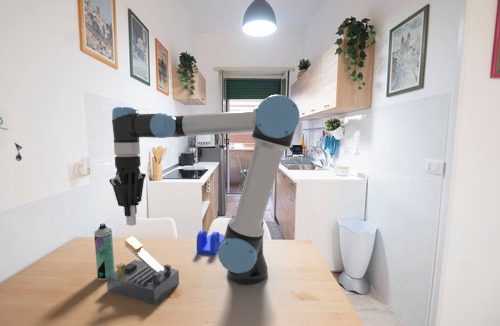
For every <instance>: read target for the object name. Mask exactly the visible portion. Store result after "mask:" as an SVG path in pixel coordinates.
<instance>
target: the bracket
mask: <svg viewBox="0 0 500 326" xmlns="http://www.w3.org/2000/svg"><path fill="white" fill-rule="evenodd" d="M224 236H225V234H222V233H220V232H218V231H212V233H211V234H209V235H208V234H207V231H206V230H199V231H198V232H197V237H196V254H199V255H200V254H201V255H209V256H216V254H218V250H219V246H220V244H221V243H222V242H223V239H224Z"/></svg>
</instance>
